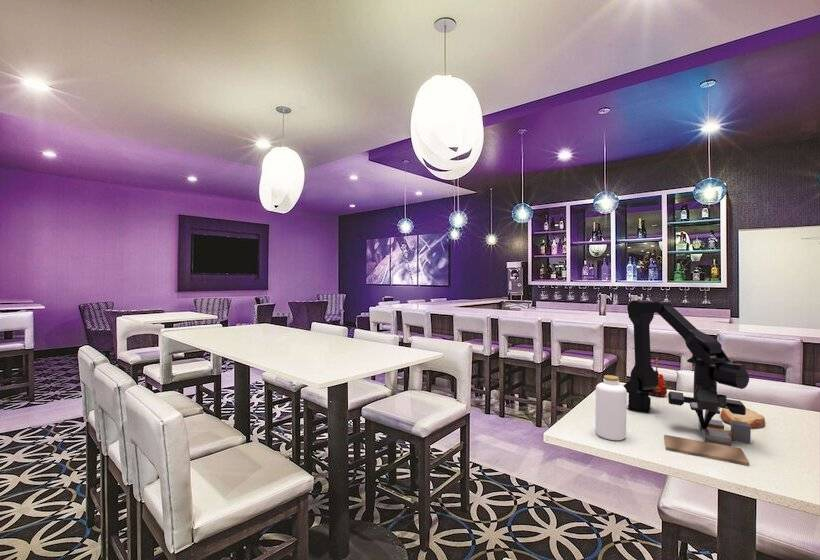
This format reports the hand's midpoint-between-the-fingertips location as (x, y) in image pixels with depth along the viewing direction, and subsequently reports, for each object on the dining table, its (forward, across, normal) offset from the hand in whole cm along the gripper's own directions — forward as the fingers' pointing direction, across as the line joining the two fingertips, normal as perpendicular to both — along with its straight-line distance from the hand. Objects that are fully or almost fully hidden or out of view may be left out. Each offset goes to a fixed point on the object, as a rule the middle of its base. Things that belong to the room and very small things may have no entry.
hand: (703, 430), depth 122 cm
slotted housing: (+1, +2, 0) cm, 3 cm away
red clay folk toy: (+1, -12, +39) cm, 41 cm away
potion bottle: (+2, -24, -17) cm, 30 cm away
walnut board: (+1, -2, -14) cm, 15 cm away
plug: (+1, +6, 0) cm, 6 cm away
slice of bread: (+2, +12, +23) cm, 26 cm away
